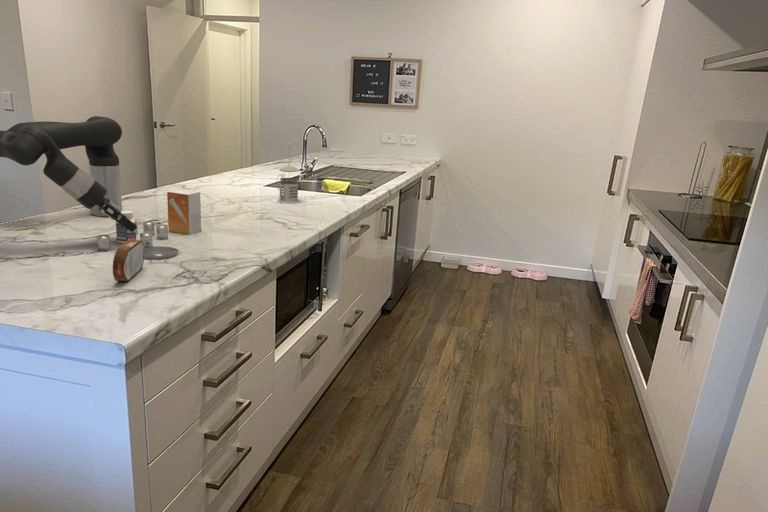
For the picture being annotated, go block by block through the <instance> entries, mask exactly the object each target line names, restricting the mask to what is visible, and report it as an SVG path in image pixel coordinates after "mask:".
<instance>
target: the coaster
mask: <svg viewBox="0 0 768 512" xmlns="http://www.w3.org/2000/svg"><path fill="white" fill-rule="evenodd" d="M177 254H178V255H179V250H178V248H175V247H172V246H162V245H161V246H159V245H158V246H153V247H147V248H144V260H150V259H158V260H164V259H163V258H167V259H170V258H169V257H172V258H174V257H173V256H175V255H177ZM178 255H177V256H178ZM175 257H176V256H175Z"/></svg>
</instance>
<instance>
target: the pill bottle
mask: <svg viewBox="0 0 768 512" xmlns="http://www.w3.org/2000/svg"><path fill="white" fill-rule="evenodd" d="M121 213H122V214H123V215H124V216H126V217H127V218H128V219H129V220H130V221H131V222H132V223H134V224H135V225H136V223H135V219H134V218H133V216H134V215H133V211H132V210H122V212H121ZM118 217H119V218H118V220H119V219H120V218H121V217H122V216H121V215H119V216H118ZM115 232H116V235H115V236H116V242H117V243H119V244H124V243H126V242H127V241H128V240H130V239H133V240H137V235H136V229H135V230H134V231H133V232H131V231H130V230H129V229H127V228H126V227H125V226H123V225H121V224H119V223H118V222H117V221H115Z"/></svg>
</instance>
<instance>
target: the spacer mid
mask: <svg viewBox="0 0 768 512" xmlns="http://www.w3.org/2000/svg"><path fill="white" fill-rule="evenodd" d="M142 227H143V228H142V231H143V232H142V233H146V232H148V233H152V237H154V235H155V234H156V233H155V231H156V230H155V229H156V227H155V222H154V221H143V222H142ZM155 236H156V235H155Z"/></svg>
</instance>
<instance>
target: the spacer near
mask: <svg viewBox="0 0 768 512" xmlns="http://www.w3.org/2000/svg"><path fill="white" fill-rule="evenodd" d="M96 243H97V244H96V245H97V251H98V252H100V251H106V252H109V251H108V250H110V249H111V238H110V235H109V234H99V235H97V236H96ZM110 251H111V250H110Z"/></svg>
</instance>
